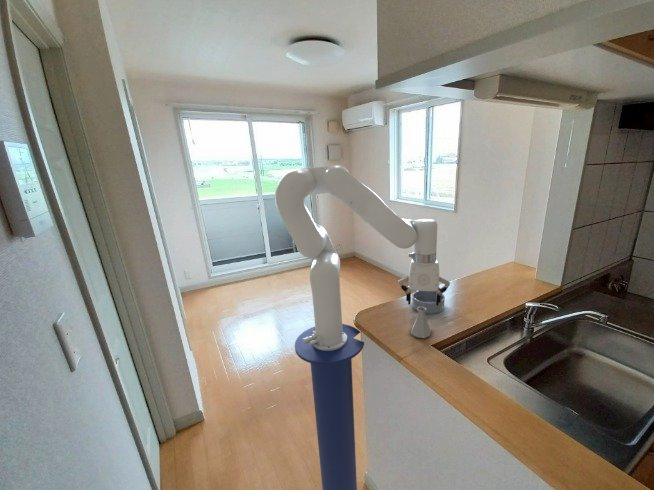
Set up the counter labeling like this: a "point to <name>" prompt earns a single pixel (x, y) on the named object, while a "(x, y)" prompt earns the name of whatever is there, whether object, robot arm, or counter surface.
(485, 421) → the counter surface
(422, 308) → the flask
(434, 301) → the bowl
